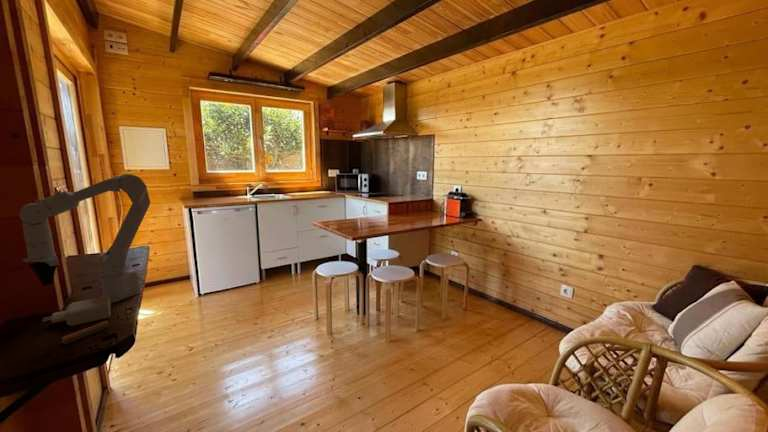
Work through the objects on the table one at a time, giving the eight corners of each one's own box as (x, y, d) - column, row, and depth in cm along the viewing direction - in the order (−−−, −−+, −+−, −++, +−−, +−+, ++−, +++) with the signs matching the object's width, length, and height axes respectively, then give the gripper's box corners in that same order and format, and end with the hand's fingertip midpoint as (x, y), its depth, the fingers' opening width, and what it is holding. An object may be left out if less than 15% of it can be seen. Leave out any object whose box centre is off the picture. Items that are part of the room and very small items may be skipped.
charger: (47, 321, 97) (111, 307, 107) (40, 334, 90) (110, 318, 99) (44, 306, 97) (109, 294, 106) (37, 319, 89) (108, 304, 99)
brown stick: (107, 326, 95) (106, 320, 94) (109, 326, 94) (108, 321, 94) (62, 343, 86) (61, 337, 85) (65, 344, 85) (63, 338, 85)
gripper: (10, 242, 98) (18, 284, 100) (32, 248, 92) (41, 293, 94) (41, 237, 104) (49, 277, 106) (64, 242, 98) (71, 284, 101)
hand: (47, 284), depth 101 cm, fingers closed
